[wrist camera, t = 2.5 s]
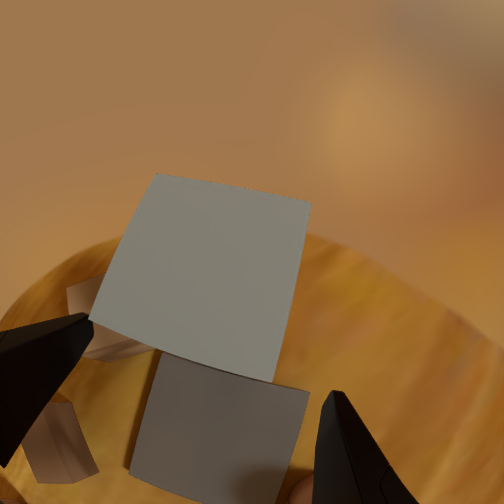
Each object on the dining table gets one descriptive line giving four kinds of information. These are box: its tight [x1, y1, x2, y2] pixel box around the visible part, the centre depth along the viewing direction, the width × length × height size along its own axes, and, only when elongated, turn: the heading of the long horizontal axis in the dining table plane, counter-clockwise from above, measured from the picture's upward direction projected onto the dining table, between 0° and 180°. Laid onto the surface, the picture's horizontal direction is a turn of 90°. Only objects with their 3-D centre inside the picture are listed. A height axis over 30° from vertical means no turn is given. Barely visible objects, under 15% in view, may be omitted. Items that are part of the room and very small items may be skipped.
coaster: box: [129, 352, 310, 504], centre depth 15 cm, size 10×10×1 cm
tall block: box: [88, 174, 311, 383], centre depth 12 cm, size 4×4×13 cm
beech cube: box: [66, 273, 157, 362], centre depth 16 cm, size 4×4×4 cm
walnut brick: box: [21, 402, 99, 484], centre depth 12 cm, size 6×4×4 cm, turn 24°
